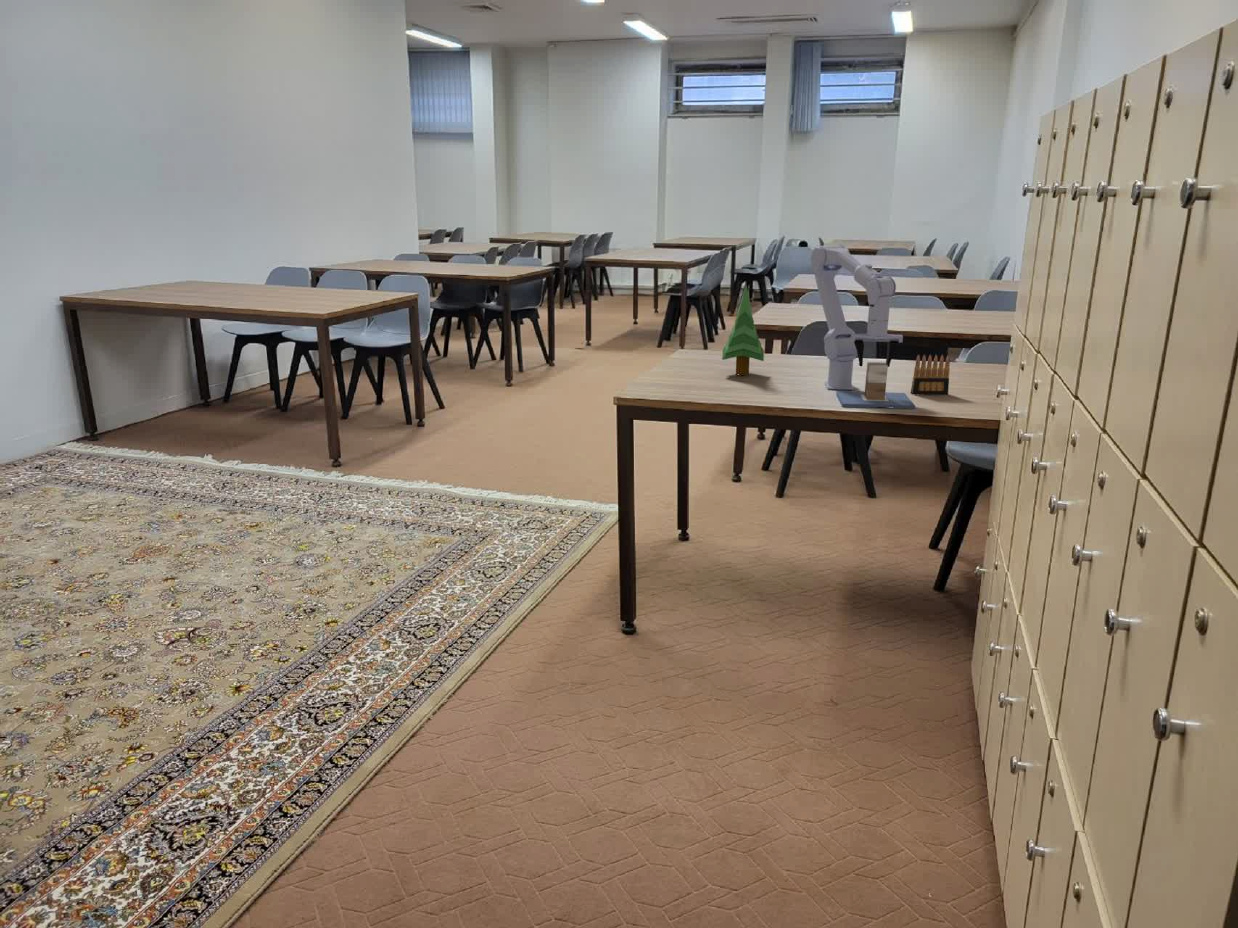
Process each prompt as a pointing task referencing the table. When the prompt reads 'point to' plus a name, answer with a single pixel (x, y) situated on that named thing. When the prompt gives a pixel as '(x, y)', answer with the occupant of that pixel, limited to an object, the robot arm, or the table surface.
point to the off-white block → (876, 372)
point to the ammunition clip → (931, 377)
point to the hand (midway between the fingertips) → (874, 366)
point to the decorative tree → (743, 338)
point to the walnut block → (875, 391)
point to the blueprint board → (860, 400)
